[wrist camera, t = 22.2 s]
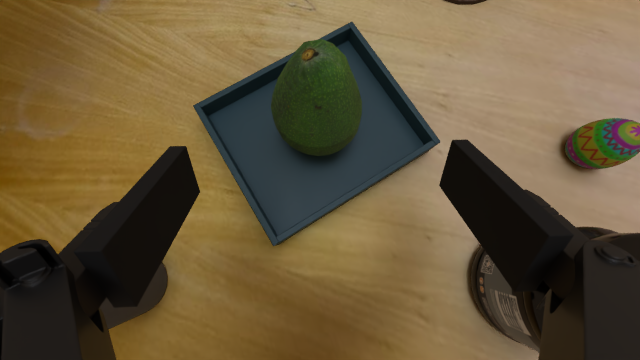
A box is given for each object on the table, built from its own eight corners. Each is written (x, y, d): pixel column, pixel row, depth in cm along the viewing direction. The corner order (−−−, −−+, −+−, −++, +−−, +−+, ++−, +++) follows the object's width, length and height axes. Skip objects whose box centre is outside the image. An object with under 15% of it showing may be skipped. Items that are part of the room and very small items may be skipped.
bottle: (166, 247, 28) (1, 259, 13) (169, 309, 27) (-9, 398, 12) (107, 257, 27) (-131, 280, 13) (107, 319, 26) (-154, 424, 12)
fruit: (338, 88, 31) (353, -4, 19) (364, 153, 29) (398, 96, 17) (270, 110, 30) (241, 27, 18) (293, 177, 28) (278, 135, 17)
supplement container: (587, 272, 28) (784, 298, 16) (538, 364, 26) (719, 467, 14) (498, 209, 29) (622, 190, 17) (445, 292, 27) (543, 334, 16)
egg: (572, 179, 30) (635, 165, 24) (549, 139, 31) (604, 116, 25) (609, 163, 30) (680, 146, 25) (585, 124, 31) (648, 98, 26)
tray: (277, 245, 28) (273, 246, 25) (204, 118, 31) (192, 105, 28) (428, 150, 30) (440, 141, 27) (348, 40, 33) (352, 21, 30)
